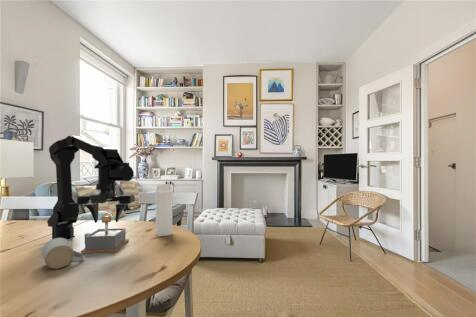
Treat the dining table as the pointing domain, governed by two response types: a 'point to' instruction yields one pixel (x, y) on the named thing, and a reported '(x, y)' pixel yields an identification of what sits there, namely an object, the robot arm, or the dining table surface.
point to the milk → (164, 210)
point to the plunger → (106, 228)
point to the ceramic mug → (60, 253)
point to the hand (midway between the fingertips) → (106, 222)
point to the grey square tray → (105, 242)
